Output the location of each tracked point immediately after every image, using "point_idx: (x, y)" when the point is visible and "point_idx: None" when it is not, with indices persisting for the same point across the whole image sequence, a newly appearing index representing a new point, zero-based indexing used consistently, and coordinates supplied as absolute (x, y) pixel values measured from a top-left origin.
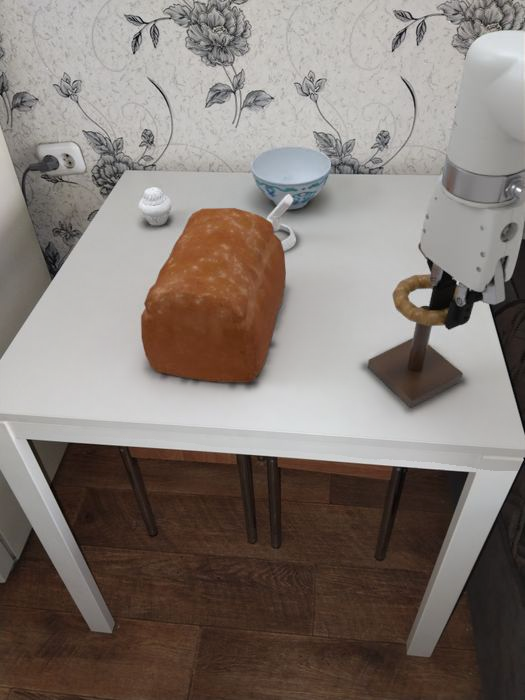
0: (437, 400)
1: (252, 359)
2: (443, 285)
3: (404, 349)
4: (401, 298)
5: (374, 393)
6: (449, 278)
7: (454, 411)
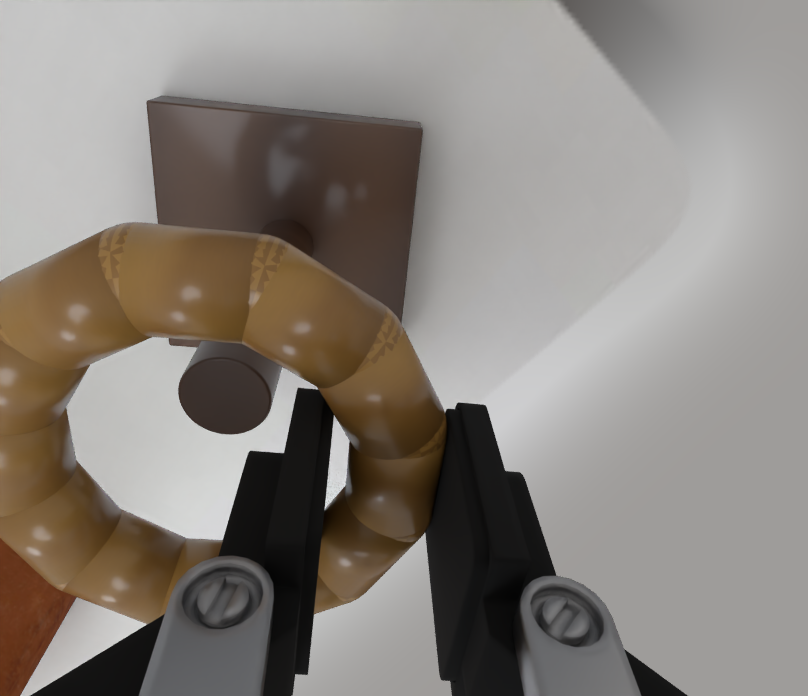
0: (426, 258)
1: (37, 655)
2: (294, 663)
3: (190, 211)
4: (144, 619)
5: (285, 381)
6: (278, 652)
7: (492, 251)
